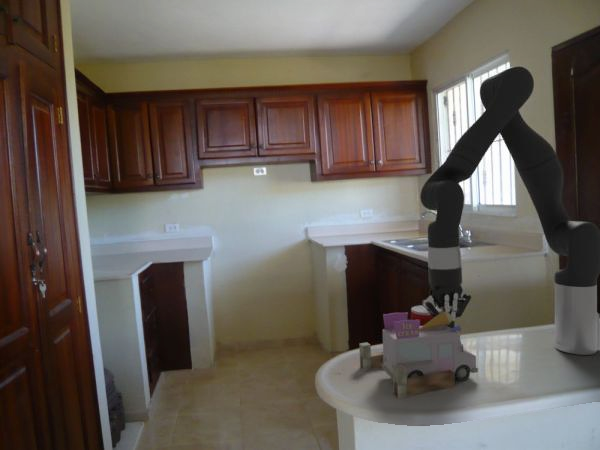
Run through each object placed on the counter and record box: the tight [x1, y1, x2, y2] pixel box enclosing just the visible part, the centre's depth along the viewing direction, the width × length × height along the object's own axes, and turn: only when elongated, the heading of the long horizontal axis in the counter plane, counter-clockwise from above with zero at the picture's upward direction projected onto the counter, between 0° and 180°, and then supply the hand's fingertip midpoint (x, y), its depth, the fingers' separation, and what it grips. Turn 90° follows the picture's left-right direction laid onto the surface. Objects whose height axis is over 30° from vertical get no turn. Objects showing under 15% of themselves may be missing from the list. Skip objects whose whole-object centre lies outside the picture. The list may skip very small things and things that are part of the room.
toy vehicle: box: [381, 311, 479, 382], centre depth 99 cm, size 9×20×15 cm, turn 100°
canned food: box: [410, 304, 437, 326], centre depth 118 cm, size 8×8×11 cm
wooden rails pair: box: [359, 341, 456, 399], centre depth 101 cm, size 14×18×6 cm
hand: (448, 335), depth 105 cm, fingers closed
